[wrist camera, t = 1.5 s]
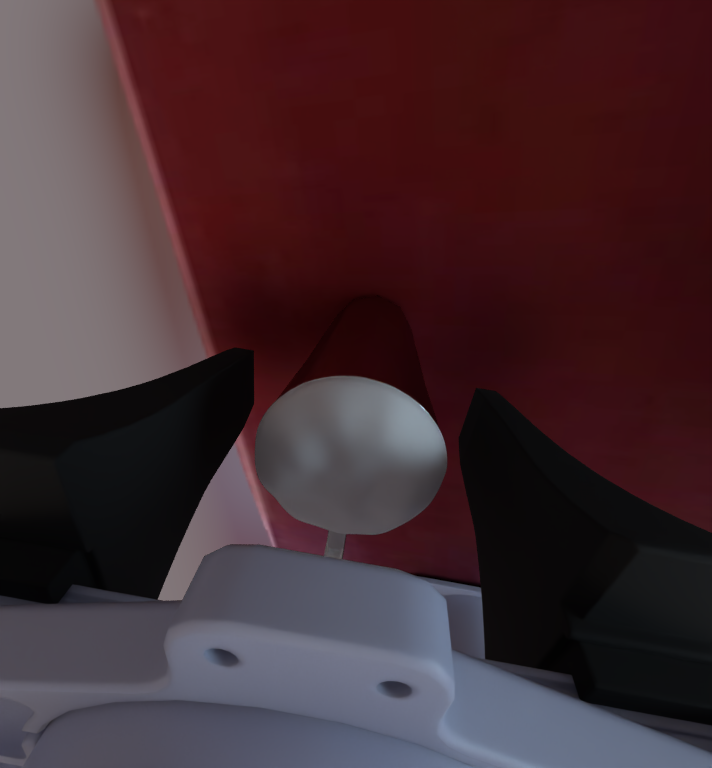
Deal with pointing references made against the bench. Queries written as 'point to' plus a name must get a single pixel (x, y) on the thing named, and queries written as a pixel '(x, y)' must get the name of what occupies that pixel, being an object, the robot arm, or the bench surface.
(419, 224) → the bench surface
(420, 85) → the bench surface
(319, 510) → the milkshake cup
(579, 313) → the bench surface
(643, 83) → the bench surface
